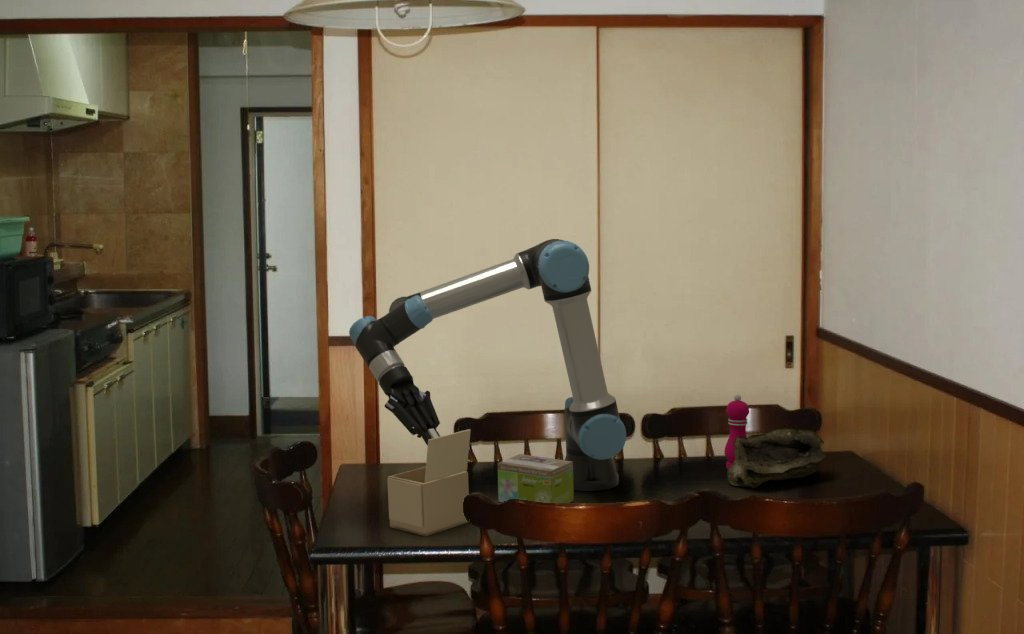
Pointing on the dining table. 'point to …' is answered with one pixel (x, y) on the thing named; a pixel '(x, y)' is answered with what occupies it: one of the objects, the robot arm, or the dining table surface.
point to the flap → (447, 455)
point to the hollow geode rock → (775, 456)
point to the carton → (426, 501)
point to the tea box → (535, 479)
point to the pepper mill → (735, 426)
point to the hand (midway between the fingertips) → (442, 454)
